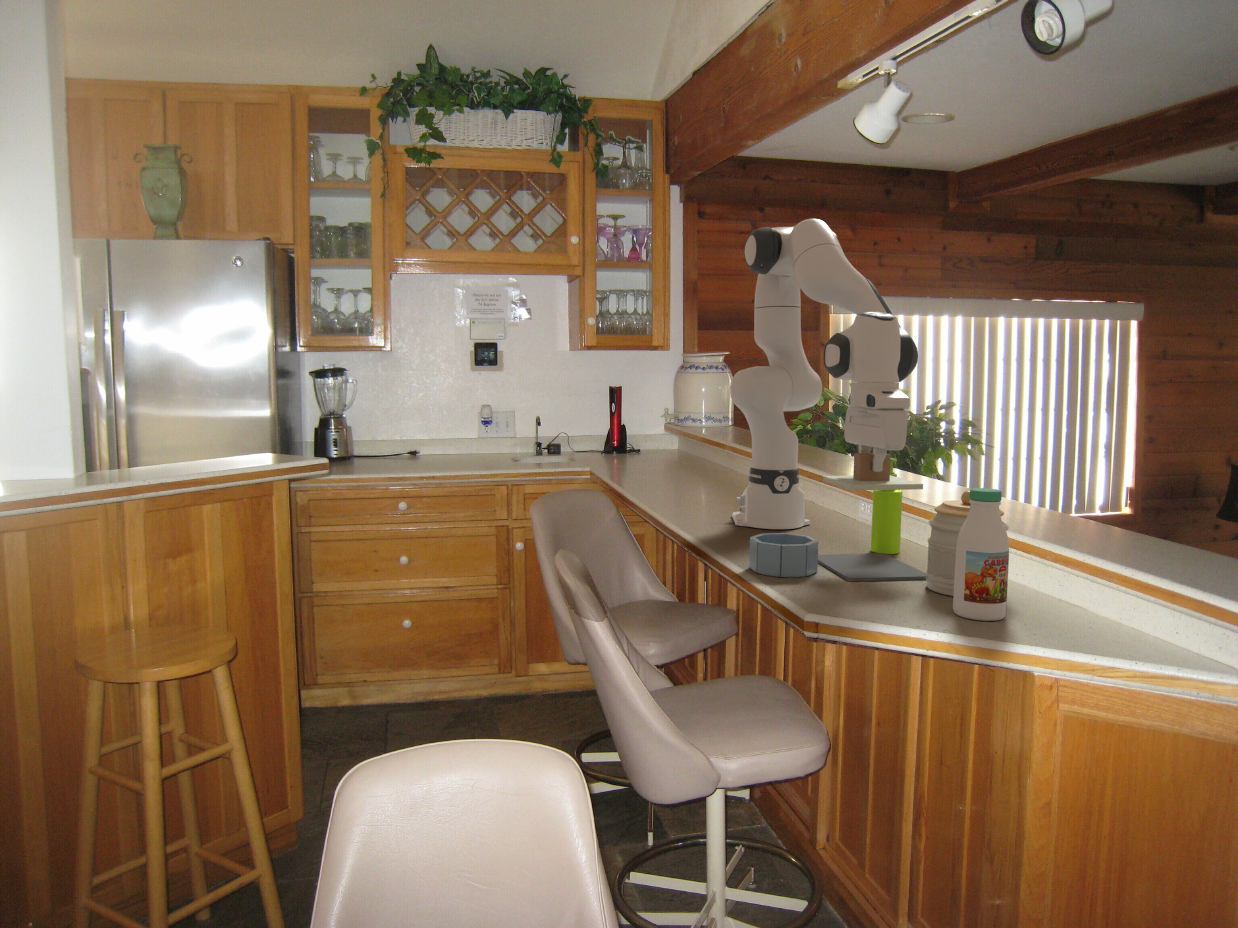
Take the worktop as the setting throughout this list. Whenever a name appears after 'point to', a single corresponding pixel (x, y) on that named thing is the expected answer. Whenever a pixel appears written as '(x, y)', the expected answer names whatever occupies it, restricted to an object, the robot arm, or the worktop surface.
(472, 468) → the worktop surface
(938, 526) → the jar
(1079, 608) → the worktop surface
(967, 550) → the milk bottle
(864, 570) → the mat
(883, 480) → the cover
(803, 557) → the bowl
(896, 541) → the soap dispenser
